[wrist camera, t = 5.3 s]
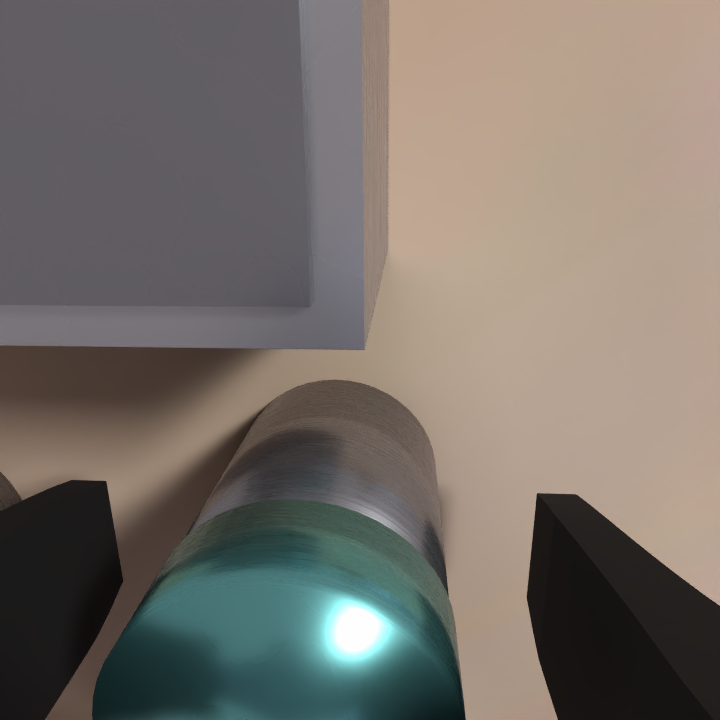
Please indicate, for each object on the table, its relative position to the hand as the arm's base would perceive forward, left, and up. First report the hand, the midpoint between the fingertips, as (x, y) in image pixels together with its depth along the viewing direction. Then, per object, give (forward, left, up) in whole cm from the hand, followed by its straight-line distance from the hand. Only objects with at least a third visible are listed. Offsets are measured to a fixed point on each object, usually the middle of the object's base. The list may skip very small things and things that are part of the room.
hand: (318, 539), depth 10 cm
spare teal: (0, 0, -2) cm, 2 cm away
